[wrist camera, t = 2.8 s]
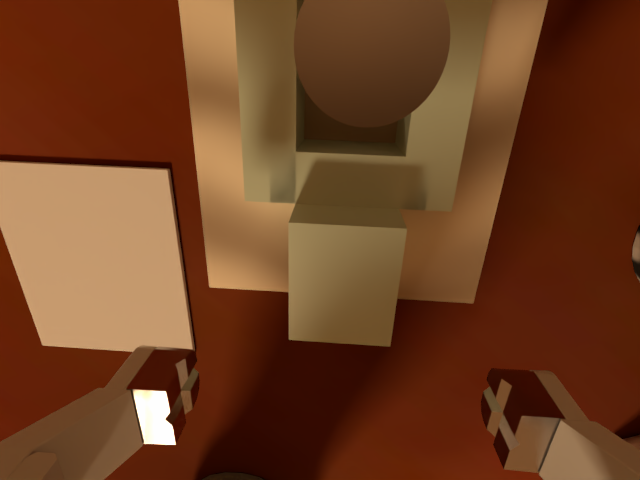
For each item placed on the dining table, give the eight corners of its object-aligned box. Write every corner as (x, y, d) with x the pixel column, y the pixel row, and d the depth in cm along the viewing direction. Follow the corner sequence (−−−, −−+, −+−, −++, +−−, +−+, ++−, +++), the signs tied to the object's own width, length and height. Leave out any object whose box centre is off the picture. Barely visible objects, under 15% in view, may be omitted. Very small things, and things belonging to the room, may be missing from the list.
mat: (-19, 159, 19) (-24, 161, 19) (169, 168, 19) (167, 170, 18) (46, 342, 24) (42, 345, 24) (195, 352, 23) (193, 355, 23)
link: (250, -96, 13) (199, -191, 8) (481, -92, 12) (559, -188, 8) (264, 274, 19) (238, 336, 14) (418, 283, 19) (442, 350, 14)
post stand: (178, -149, 13) (-396, -931, 3) (564, -145, 13) (1509, -1094, 2) (218, 273, 21) (92, 470, 10) (464, 288, 20) (592, 512, 10)
